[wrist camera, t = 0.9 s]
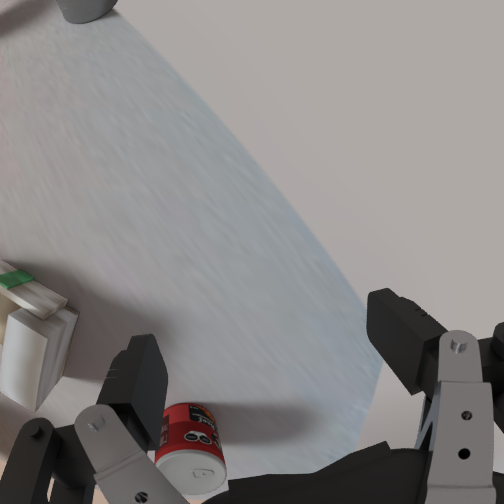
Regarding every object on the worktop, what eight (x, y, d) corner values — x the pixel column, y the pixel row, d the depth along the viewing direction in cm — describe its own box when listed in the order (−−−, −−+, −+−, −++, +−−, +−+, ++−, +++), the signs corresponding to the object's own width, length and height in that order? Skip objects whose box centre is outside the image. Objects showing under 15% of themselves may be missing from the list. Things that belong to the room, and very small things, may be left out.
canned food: (223, 433, 37) (237, 485, 26) (172, 448, 36) (174, 501, 25) (202, 393, 36) (210, 444, 25) (148, 410, 35) (141, 462, 24)
